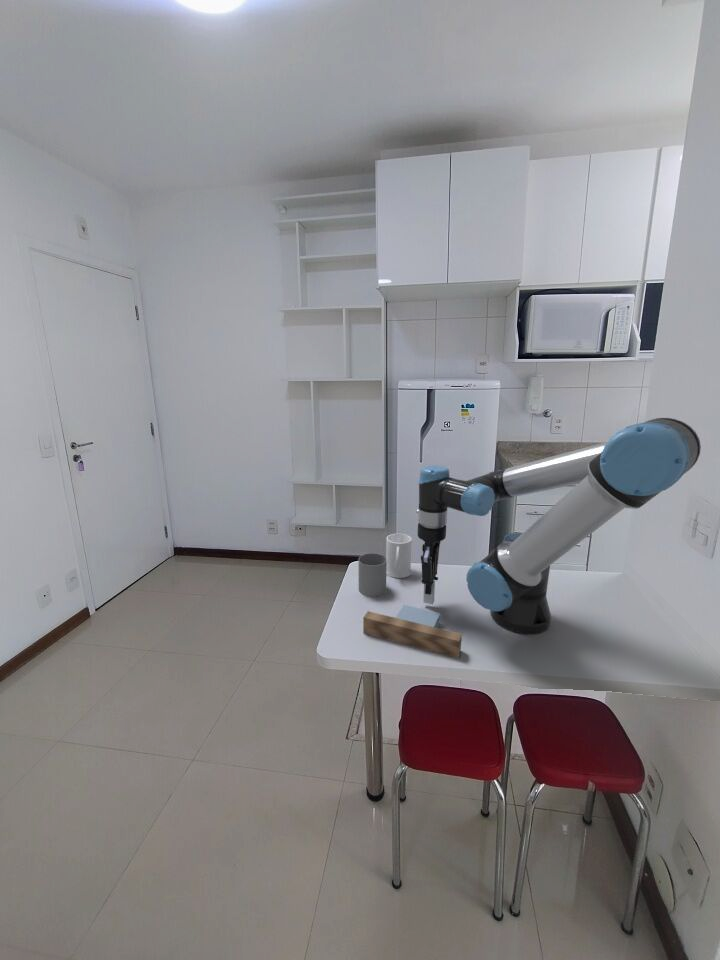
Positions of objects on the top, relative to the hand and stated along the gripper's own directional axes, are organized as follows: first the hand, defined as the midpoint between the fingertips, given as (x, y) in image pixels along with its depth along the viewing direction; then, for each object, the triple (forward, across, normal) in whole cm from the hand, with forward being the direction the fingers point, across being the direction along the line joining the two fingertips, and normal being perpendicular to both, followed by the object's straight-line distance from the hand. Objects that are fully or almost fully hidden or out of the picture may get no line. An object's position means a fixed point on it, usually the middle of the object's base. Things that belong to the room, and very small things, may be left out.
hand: (428, 602), depth 119 cm
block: (+2, +11, 0) cm, 11 cm away
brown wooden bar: (+1, +17, 0) cm, 17 cm away
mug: (+2, -15, -14) cm, 20 cm away
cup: (+2, -3, -18) cm, 18 cm away
